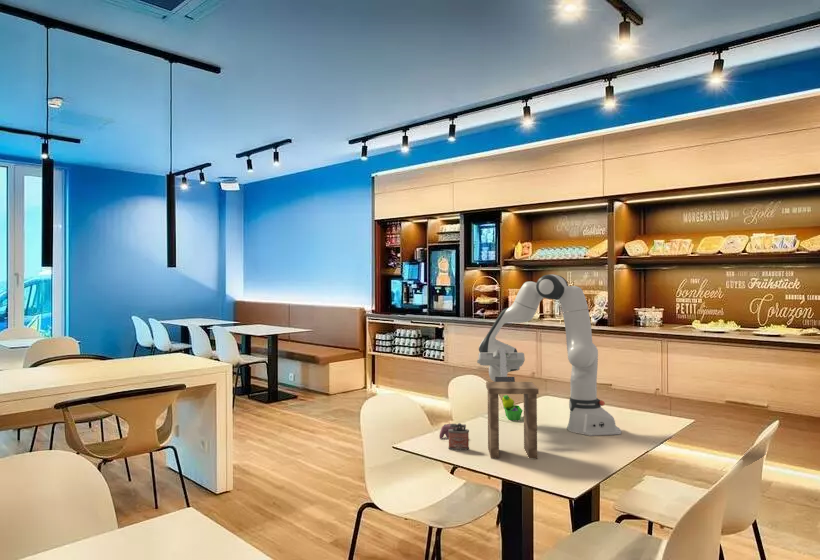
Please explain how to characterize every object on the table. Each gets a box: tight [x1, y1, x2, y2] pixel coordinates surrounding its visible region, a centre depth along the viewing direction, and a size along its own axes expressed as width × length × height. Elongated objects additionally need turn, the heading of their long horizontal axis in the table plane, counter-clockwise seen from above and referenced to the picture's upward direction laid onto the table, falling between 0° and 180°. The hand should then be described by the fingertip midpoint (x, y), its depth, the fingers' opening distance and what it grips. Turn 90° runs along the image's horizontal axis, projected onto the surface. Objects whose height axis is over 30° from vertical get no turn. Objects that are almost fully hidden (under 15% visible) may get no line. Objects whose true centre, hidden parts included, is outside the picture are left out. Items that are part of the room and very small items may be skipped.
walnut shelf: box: [485, 381, 539, 460], centre depth 206 cm, size 18×14×26 cm
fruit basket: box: [501, 394, 524, 421], centre depth 261 cm, size 11×9×11 cm
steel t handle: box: [493, 348, 516, 382], centre depth 232 cm, size 8×18×4 cm
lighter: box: [448, 422, 470, 451], centre depth 212 cm, size 8×3×10 cm, turn 84°
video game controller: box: [439, 423, 457, 439], centre depth 228 cm, size 10×5×7 cm, turn 72°
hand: (502, 351), depth 235 cm, fingers closed on steel t handle, 2 cm apart
